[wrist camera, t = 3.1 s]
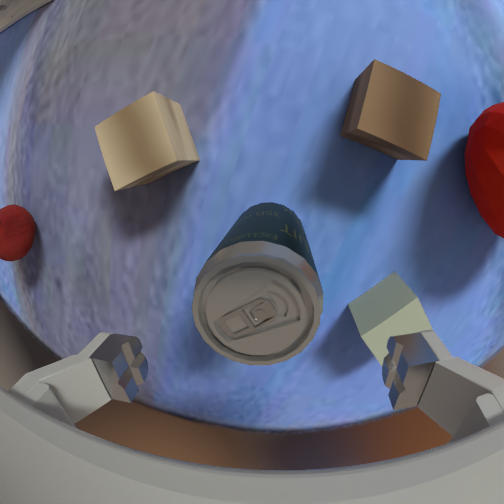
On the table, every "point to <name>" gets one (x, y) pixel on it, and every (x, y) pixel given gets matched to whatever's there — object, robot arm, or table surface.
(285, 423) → the table surface
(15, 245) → the onion
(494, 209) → the tomato
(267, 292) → the beer can
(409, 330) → the sage painted block
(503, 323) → the table surface
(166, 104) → the beech block
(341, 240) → the table surface
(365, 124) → the walnut block
